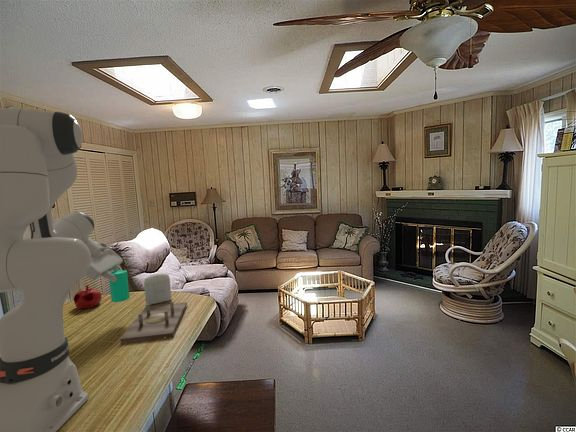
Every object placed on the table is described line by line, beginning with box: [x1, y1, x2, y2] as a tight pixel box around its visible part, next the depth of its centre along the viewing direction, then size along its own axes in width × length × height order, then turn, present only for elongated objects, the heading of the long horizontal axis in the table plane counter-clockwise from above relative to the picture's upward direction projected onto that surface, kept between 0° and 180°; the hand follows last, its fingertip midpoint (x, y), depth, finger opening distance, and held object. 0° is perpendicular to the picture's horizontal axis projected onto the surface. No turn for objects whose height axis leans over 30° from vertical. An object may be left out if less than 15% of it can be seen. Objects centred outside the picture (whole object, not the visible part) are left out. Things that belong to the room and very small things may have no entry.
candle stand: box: [119, 301, 188, 344], centre depth 109 cm, size 26×16×6 cm, turn 9°
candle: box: [108, 268, 131, 303], centre depth 111 cm, size 6×6×12 cm
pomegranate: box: [72, 284, 102, 310], centre depth 128 cm, size 10×10×9 cm
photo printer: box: [143, 273, 172, 306], centre depth 128 cm, size 10×4×12 cm, turn 123°
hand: (120, 277), depth 111 cm, fingers closed on candle, 5 cm apart
